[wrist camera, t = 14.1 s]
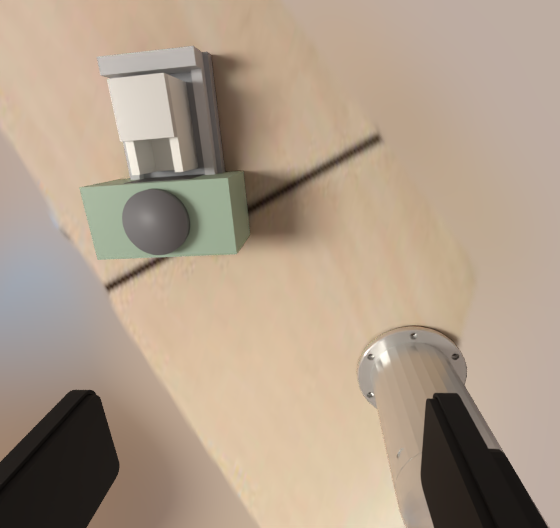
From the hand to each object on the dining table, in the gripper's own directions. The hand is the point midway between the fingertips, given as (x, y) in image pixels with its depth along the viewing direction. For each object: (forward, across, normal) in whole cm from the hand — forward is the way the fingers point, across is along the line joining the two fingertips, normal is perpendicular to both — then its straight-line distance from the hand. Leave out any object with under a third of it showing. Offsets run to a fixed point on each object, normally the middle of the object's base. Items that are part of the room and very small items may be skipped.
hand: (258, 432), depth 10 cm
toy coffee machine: (+30, +13, -7) cm, 34 cm away
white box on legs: (+29, +13, -10) cm, 33 cm away
